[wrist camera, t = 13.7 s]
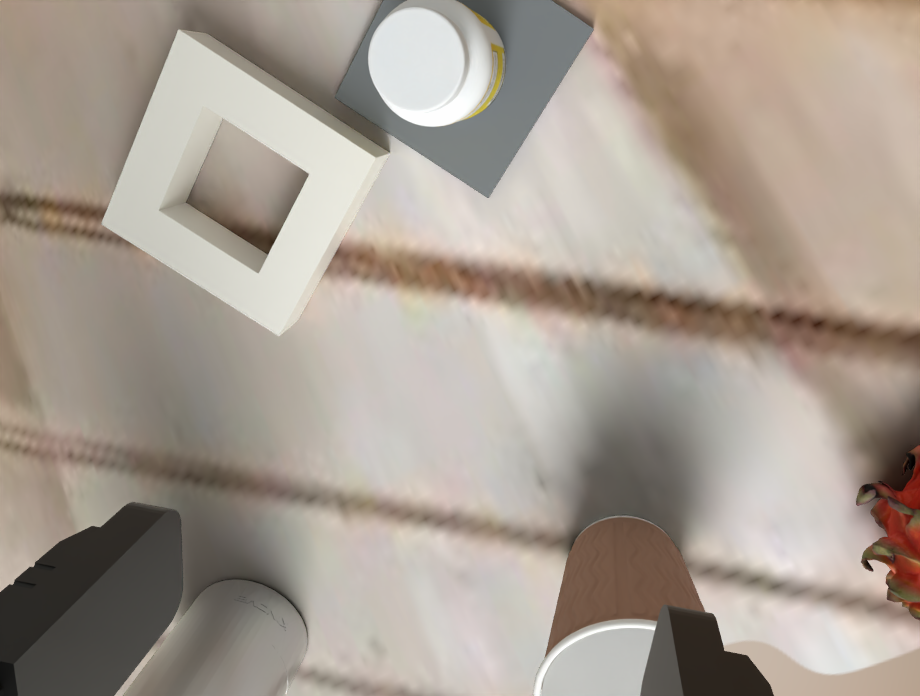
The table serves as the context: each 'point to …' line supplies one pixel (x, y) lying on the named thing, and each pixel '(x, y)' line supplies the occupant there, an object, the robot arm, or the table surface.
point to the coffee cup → (612, 608)
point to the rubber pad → (512, 112)
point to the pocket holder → (183, 153)
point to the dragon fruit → (898, 535)
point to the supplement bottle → (436, 62)
